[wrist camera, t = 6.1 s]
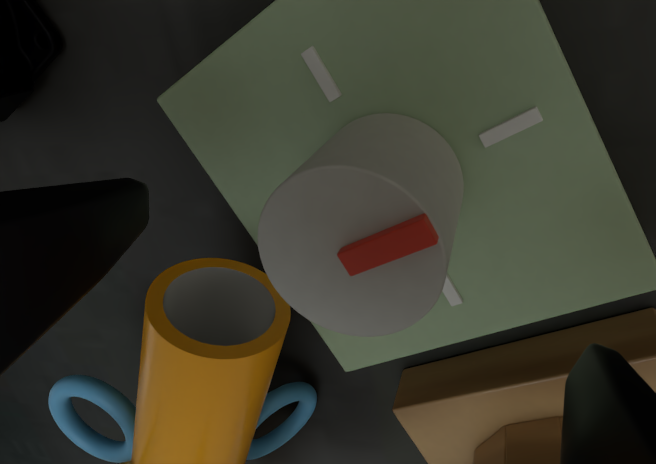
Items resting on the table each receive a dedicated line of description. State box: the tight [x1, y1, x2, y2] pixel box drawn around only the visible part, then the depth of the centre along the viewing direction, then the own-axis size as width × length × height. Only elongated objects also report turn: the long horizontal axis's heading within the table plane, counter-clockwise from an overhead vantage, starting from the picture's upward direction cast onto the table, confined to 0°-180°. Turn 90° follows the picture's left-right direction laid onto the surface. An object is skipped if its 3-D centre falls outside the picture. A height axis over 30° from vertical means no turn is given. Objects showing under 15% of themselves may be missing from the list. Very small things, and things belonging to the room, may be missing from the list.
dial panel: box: [157, 0, 656, 372], centre depth 14 cm, size 11×10×3 cm
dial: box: [257, 113, 464, 337], centre depth 11 cm, size 4×4×4 cm
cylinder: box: [49, 258, 317, 464], centre depth 17 cm, size 12×10×15 cm
